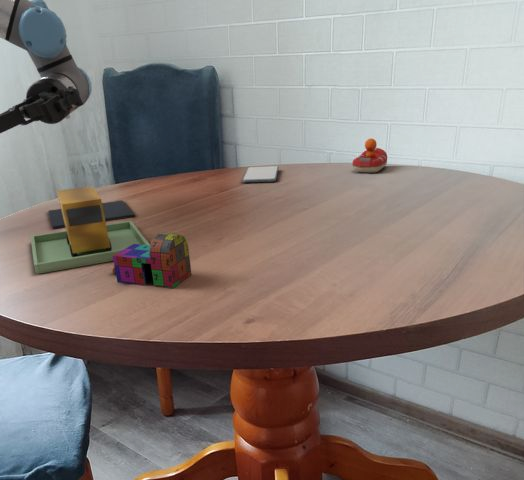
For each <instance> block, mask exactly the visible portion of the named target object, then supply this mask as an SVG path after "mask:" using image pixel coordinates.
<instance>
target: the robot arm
mask: <svg viewBox="0 0 524 480" xmlns="http://www.w3.org/2000/svg"><path fill="white" fill-rule="evenodd" d="M0 39H2V40H4V41H6V42H8V43H9V44H12V45H13V46H16V47H18V48H20V49H22V50H25V51H26V52H27V54H28V56H29V57H30V59H31V61H32V63H33V64H34V66H35V68H36V71H37V73H38V74H39V76H40V79H38V80H36V81H35V82H33V83H31V85H30V86H29V87H28V89H27V91H26V93H25V99H23V101H22V102H20V103H17V104H15V105H13V106H12V107H10V108H8V109H7V110H5V111H3V112H2V113H0V134H3V133H5V132H7V131H9V130H11V129H13V128H15V127H17V126H19V125H20V126H27V125H29V124H32V123H33V122H41V123H44V124H47V125H56V124H59V123H60V122H62V121H63V120H64V119H66V120H69V119H71V114H72V113H73V112H74V111H76V110H77V109H79V108H80V107H81V106H84V105H85V103H87V101H88V100H89V98H90V97H91V95H92V89H93V87H92V81H91V78H90V77H89V75H88V73H87V72H86V71H85V70H84V69H83V68H81V67H79V66H78V65H77V63H76V61H75V59H74V57H73V56H72V54H71V52H70V49H69V48H68V46H67V30H66V27H65V25H64V22H63V21H62V19H61V18H60V17H59V16H58V14H57V13H56V12H55V11H53V10H51V9H50V8H49V7H48V5H47V3H46V1H45V0H0Z"/></svg>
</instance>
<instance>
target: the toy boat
mask: <svg viewBox="0 0 524 480" xmlns="http://www.w3.org/2000/svg"><path fill="white" fill-rule="evenodd" d="M377 146H378V145H377V141H376V139H374V138H368V139H366V140H365V143H364V148H365V150H364V151H363V152H361V154H360V155H359V156H357V157H355V158H354V159H353V160H352V164H351V165H352V169H353V170H354V172H356V173H368V174H370V173H371V174H373V173H378V172H380V171H381V170H382V169H383V168H385V167H386V166H387V163H388V154H387V152H386V151H385V150H384V149H382V148H380V147H377Z"/></svg>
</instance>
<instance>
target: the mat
mask: <svg viewBox="0 0 524 480" xmlns="http://www.w3.org/2000/svg"><path fill="white" fill-rule="evenodd" d="M102 206H103V211H104V217H105V222H108V221H114V220H121V219H122V220H123V219H128V218H134V217H135V214H134V212H133V211H132V210H131V209H130V208H129V207H128V205H127V204H126V203H125V202H124V201H123V200H115V201H108V202H102ZM48 215H49V219H50V222H51V227H52V229H54V230H55V229H62V228H65V224H64V220H63V215H62V211H61V208H58V209H51V210H48Z"/></svg>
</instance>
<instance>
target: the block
mask: <svg viewBox="0 0 524 480" xmlns="http://www.w3.org/2000/svg"><path fill="white" fill-rule="evenodd" d="M190 258H191V257H190V251H189V244H188V241H187V240H186V238H185V237H184V235H182V234H179V233H178V234H177V233H163V232H159V233H157V234H156V235H154V237H153V239H152V241H151V242H150V245H142V244H133V245H131V246H129V247H127V248H126V249H124V250H122V251H120V252H118V253H117V254H115V255H113V261H112V262H113V266H114V267H113V268H112V275H115V276H116V282H117V283H120V284H129V285H138V286H146V285H147V276H146V271H151V274H152V282H153V286H154V287H156V288H166V289H174V288H176V287H178V286H179V285H180V284H181V283H182V282H183V281H185V280H187V279H188V278H189V277H190V276H191V275H192V267H191V259H190Z"/></svg>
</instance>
